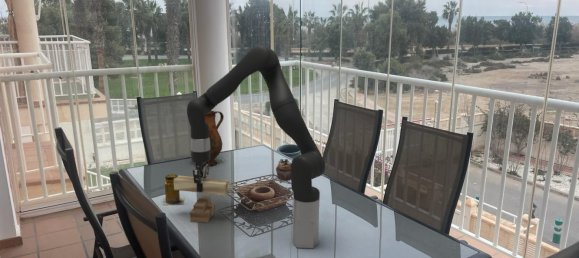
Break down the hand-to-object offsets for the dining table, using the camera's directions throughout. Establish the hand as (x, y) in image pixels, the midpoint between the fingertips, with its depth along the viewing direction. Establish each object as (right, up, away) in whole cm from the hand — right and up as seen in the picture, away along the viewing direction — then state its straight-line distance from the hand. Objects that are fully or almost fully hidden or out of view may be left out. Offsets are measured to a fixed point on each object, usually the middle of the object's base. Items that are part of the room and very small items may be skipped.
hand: (201, 189), depth 172 cm
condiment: (-16, -8, +18) cm, 25 cm away
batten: (0, -1, 0) cm, 1 cm away
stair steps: (0, -12, +3) cm, 12 cm away
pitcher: (-10, +4, +72) cm, 73 cm away
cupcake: (+33, -1, +49) cm, 59 cm away
